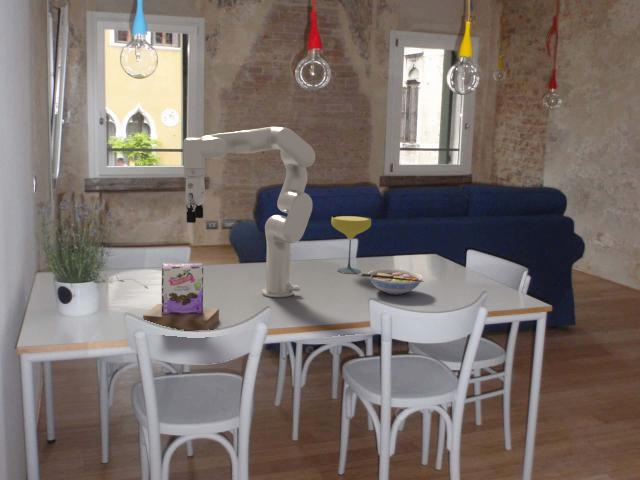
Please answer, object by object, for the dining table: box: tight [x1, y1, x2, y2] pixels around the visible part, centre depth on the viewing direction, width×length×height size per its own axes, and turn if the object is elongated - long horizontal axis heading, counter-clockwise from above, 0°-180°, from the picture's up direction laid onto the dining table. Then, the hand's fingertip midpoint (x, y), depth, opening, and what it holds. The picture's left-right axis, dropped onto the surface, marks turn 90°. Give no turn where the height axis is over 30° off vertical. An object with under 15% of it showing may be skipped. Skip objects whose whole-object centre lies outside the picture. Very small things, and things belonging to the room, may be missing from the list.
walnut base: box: [142, 303, 220, 331], centre depth 242 cm, size 22×14×4 cm, turn 82°
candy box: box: [161, 263, 204, 314], centre depth 240 cm, size 14×6×16 cm, turn 101°
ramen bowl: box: [360, 268, 424, 296], centre depth 291 cm, size 25×23×8 cm
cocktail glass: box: [330, 213, 372, 274], centre depth 324 cm, size 18×18×25 cm
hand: (195, 220), depth 256 cm, fingers open, 9 cm apart
